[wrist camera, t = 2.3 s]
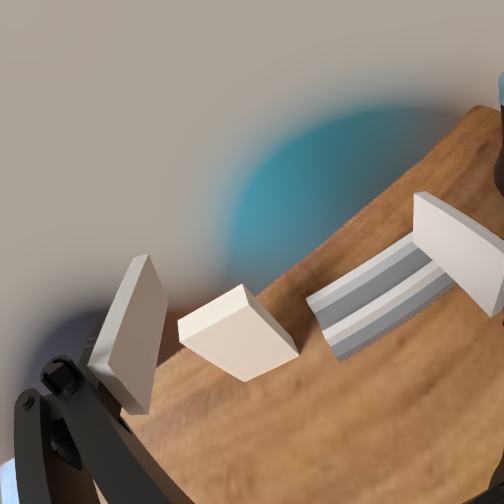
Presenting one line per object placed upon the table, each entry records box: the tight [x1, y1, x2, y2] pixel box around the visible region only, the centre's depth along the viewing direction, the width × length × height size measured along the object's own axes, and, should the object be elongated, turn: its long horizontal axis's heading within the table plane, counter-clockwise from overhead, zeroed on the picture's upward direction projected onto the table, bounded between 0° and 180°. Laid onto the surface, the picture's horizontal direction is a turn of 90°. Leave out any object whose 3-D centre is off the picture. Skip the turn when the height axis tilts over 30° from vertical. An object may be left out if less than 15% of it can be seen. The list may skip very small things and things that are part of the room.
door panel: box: [178, 284, 299, 382], centre depth 40 cm, size 10×4×16 cm, turn 107°
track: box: [306, 231, 458, 362], centre depth 41 cm, size 24×12×4 cm, turn 107°
